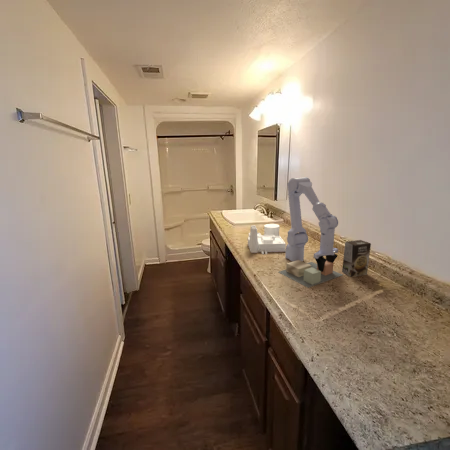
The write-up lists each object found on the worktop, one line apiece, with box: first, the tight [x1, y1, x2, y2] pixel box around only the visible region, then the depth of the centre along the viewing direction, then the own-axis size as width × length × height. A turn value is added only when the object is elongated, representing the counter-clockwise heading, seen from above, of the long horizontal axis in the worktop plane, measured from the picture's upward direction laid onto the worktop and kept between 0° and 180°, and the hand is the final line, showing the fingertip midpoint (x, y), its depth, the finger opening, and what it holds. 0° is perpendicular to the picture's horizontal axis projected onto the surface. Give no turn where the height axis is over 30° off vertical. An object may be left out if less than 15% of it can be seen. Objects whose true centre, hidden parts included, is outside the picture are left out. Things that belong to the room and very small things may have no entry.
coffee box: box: [341, 239, 372, 278], centre depth 122 cm, size 9×6×16 cm
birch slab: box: [285, 260, 311, 277], centre depth 126 cm, size 8×8×4 cm
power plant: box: [247, 223, 287, 255], centre depth 168 cm, size 35×24×15 cm
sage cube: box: [304, 268, 321, 285], centre depth 116 cm, size 5×5×5 cm
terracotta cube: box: [317, 260, 334, 276], centre depth 125 cm, size 5×5×5 cm
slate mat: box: [278, 261, 344, 289], centre depth 125 cm, size 19×23×1 cm
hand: (324, 269), depth 125 cm, fingers closed on terracotta cube, 5 cm apart
